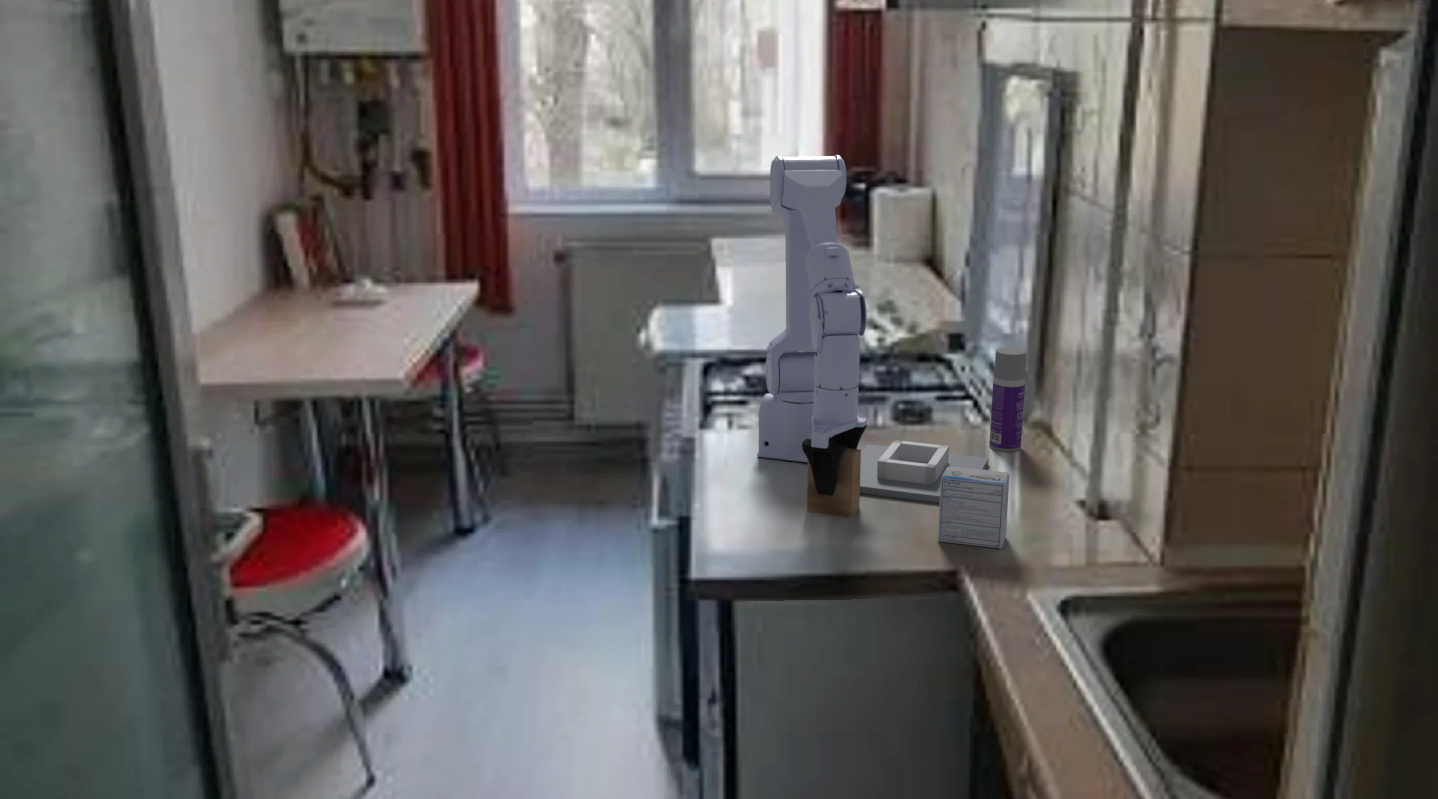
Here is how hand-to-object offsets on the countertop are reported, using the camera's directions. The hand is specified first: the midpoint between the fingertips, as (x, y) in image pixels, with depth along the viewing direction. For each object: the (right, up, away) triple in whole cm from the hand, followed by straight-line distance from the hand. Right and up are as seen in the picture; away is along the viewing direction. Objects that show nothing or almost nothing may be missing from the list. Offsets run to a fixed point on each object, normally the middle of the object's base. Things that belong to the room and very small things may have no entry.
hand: (833, 484), depth 166 cm
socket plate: (+12, 0, +13) cm, 18 cm away
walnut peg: (0, -3, +1) cm, 4 cm away
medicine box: (+16, -6, -9) cm, 20 cm away
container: (+28, +4, +26) cm, 38 cm away
